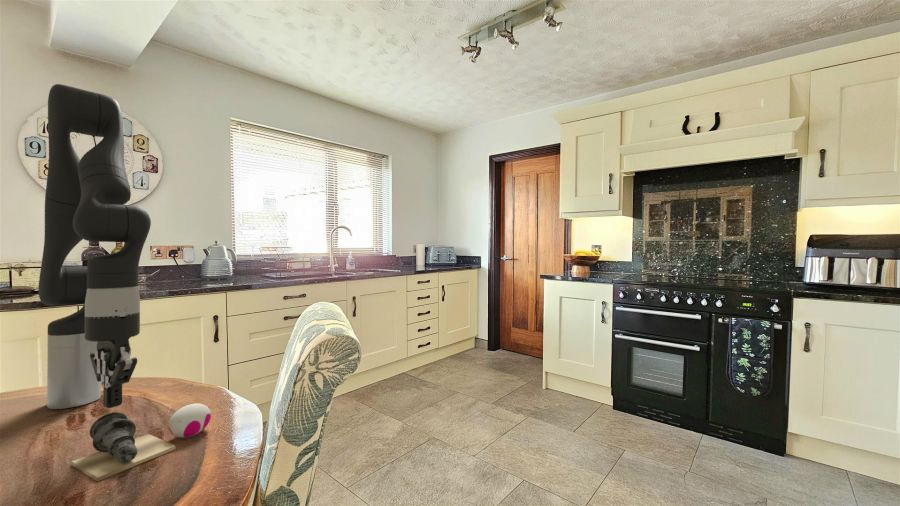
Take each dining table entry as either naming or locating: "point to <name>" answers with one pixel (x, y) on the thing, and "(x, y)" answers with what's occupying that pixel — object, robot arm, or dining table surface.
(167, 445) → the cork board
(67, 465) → the dining table surface
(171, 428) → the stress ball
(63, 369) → the robot arm
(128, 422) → the grey chess piece
